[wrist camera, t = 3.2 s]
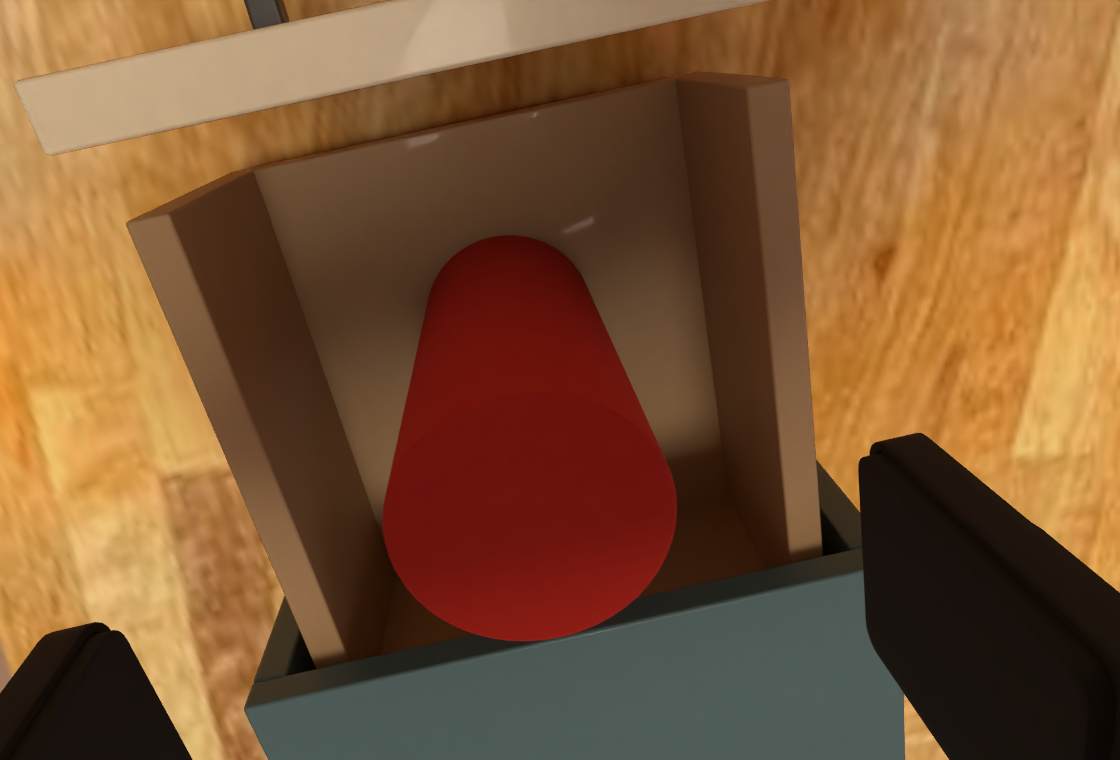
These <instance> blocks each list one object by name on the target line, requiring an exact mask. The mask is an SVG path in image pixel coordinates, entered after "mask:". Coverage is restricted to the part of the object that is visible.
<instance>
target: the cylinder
mask: <svg viewBox="0 0 1120 760" xmlns="http://www.w3.org/2000/svg"><path fill="white" fill-rule="evenodd" d="M676 518H677V499H676V490H675V486H674V481H673V477H672V474H671V472H670V469H669V467H668V464H667V462H666V460H665V457H664V455H663V453H662V451H661V449H660V446H659V444H658V442H657V440H656V437H655V435H654V433H653V431H652V429H651V426H650V424H649V422H648V420H647V418H646V415H645V413H644V411H643V409H642V407H641V404H640V402H639V400H638V398H637V396H636V393H635V391H634V389H633V387H632V385H631V382H630V380H629V378H628V376H627V374H626V371H625V369H624V367H623V365H622V362H621V360H620V358H619V356H618V354H617V351H616V349H615V347H614V345H613V343H612V340H611V338H610V336H609V334H608V332H607V329H606V327H605V325H604V323H603V321H602V318H601V316H600V314H599V312H598V310H597V307H596V305H595V303H594V301H593V299H592V296H591V294H590V292H589V290H588V287H587V285H586V283H585V281H584V279H583V277H582V276H581V274H580V272H579V271H578V269H577V268H576V267H575V265H574V264H573V263H572V262H571V261H570V260H569V259H568V258H567V257H566V256H565V255H564V254H562V253H561V252H560V251H558V250H557V249H556V248H554V247H552V246H550V245H548V244H547V243H544V242H542V241H539V240H536V239H533V238H529V237H525V236H516V235H502V236H496V237H490V238H486V239H483V240H480V241H477V242H475V243H473V244H471V245H469V246H467V247H465V248H464V249H462V250H461V251H459V252H458V253H457V254H455V255H454V256H453V257H452V258H451V259H450V260H449V261H448V262H447V263H446V264H445V265H444V266H443V268H442V269H441V271H440V272H439V273H438V275H437V277H436V279H435V281H434V283H433V285H432V288H431V290H430V293H429V297H428V302H427V306H426V311H425V316H424V320H423V325H422V329H421V334H420V339H419V343H418V348H417V352H416V357H415V362H414V366H413V371H412V375H411V380H410V385H409V389H408V394H407V398H406V403H405V408H404V412H403V417H402V421H401V426H400V431H399V435H398V440H397V444H396V449H395V454H394V458H393V463H392V467H391V472H390V477H389V481H388V486H387V490H386V495H385V500H384V505H383V520H382V524H383V533H384V541H385V544H386V548H387V552H388V556H389V558H390V560H391V562H392V565H393V567H394V569H395V571H396V573H397V574H398V576H399V578H400V579H401V581H402V582H403V584H404V586H405V587H406V588H407V589H408V590H409V592H410V593H411V594H412V595H413V596H414V598H415V599H416V600H417V601H419V602H420V603H421V604H422V605H423V606H424V607H425V608H426V609H427V610H429V611H430V612H432V613H433V614H435V615H436V616H437V617H439V618H440V619H442V620H444V621H446V622H447V623H449V624H451V625H453V626H455V627H457V628H460V629H462V630H465V631H467V632H470V633H473V634H476V635H480V636H484V637H488V638H493V639H500V640H507V641H539V640H547V639H553V638H559V637H563V636H567V635H571V634H574V633H578V632H580V631H583V630H586V629H588V628H591V627H593V626H595V625H597V624H599V623H601V622H603V621H605V620H607V619H609V618H611V617H612V616H613V615H615V614H616V613H618V612H619V611H621V610H622V609H624V608H625V607H626V606H628V605H629V604H630V603H631V602H632V601H633V600H635V599H636V598H637V597H638V596H639V595H640V594H641V593H642V592H643V591H644V589H645V588H646V587H647V586H648V585H649V584H650V582H651V581H652V580H653V578H654V577H655V576H656V574H657V573H658V571H659V569H660V568H661V566H662V564H663V562H664V560H665V558H666V556H667V554H668V551H669V548H670V546H671V543H672V540H673V536H674V531H675V527H676Z"/></svg>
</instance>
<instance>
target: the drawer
mask: <svg viewBox="0 0 1120 760" xmlns="http://www.w3.org/2000/svg"><path fill="white" fill-rule="evenodd" d="M765 1H770V0H389V1H384V2H379V3H375V4H370V5H365V6H361V7H356V8H352V9H347V10H342V11H338V12H333V13H328V14H324V15H319V16H314V17H310V18H305V19H300V20H296V21H291V22H290V21H289V18H288V14H287V11H286V8H285V5H284V1H283V0H244V2H245V5H246V8H247V11H248V14H249V17H250V20H251V24H252V27H253V30H249V31H245V32H240V33H236V34H231V35H226V36H222V37H217V38H212V39H208V40H203V41H198V42H194V43H189V44H184V45H180V46H175V47H171V48H166V49H161V50H157V51H152V52H147V53H143V54H138V55H133V56H129V57H124V58H120V59H115V60H110V61H106V62H101V63H96V64H92V65H87V66H82V67H78V68H73V69H68V70H64V71H59V72H55V73H50V74H45V75H41V76H36V77H31V78H27V79H22V80H18V81H17V82H15V83H14V86H15V89H16V91H17V93H18V95H19V98H20V100H21V102H22V104H23V106H24V109H25V111H26V113H27V115H28V117H29V120H30V122H31V124H32V126H33V128H34V131H35V133H36V135H37V137H38V139H39V142H40V144H41V146H42V148H43V150H44V152H45V153H46V155H50V156H54V155H58V154H63V153H67V152H72V151H77V150H81V149H86V148H91V147H95V146H100V145H104V144H109V143H114V142H118V141H123V140H127V139H132V138H137V137H141V136H146V135H151V134H155V133H160V132H164V131H169V130H174V129H178V128H183V127H188V126H192V125H197V124H201V123H206V122H211V121H215V120H220V119H224V118H229V117H234V116H238V115H243V114H248V113H252V112H257V111H261V110H266V109H271V108H275V107H280V106H285V105H289V104H294V103H298V102H303V101H308V100H312V99H317V98H322V97H326V96H331V95H335V94H340V93H345V92H349V91H354V90H358V89H363V88H368V87H372V86H377V85H382V84H386V83H391V82H395V81H400V80H405V79H409V78H414V77H419V76H423V75H428V74H432V73H437V72H442V71H446V70H451V69H456V68H460V67H465V66H469V65H474V64H479V63H483V62H488V61H492V60H497V59H502V58H506V57H511V56H516V55H520V54H525V53H529V52H534V51H539V50H543V49H548V48H553V47H557V46H562V45H566V44H571V43H576V42H580V41H585V40H589V39H594V38H599V37H603V36H608V35H613V34H617V33H622V32H626V31H631V30H636V29H640V28H645V27H650V26H654V25H659V24H663V23H668V22H673V21H677V20H682V19H687V18H691V17H696V16H700V15H705V14H710V13H714V12H719V11H723V10H728V9H733V8H737V7H742V6H747V5H751V4H756V3H760V2H765ZM126 226H127V228H128V230H129V233H130V235H131V237H132V240H133V242H134V244H135V247H136V249H137V251H138V254H139V256H140V258H141V261H142V263H143V265H144V268H145V270H146V272H147V275H148V277H149V279H150V282H151V284H152V286H153V289H154V291H155V293H156V296H157V298H158V300H159V303H160V305H161V307H162V310H163V312H164V314H165V317H166V319H167V321H168V324H169V326H170V328H171V331H172V333H173V335H174V338H175V340H176V342H177V345H178V347H179V349H180V352H181V354H182V356H183V359H184V361H185V363H186V366H187V368H188V370H189V373H190V375H191V377H192V380H193V382H194V384H195V387H196V389H197V391H198V394H199V396H200V398H201V401H202V403H203V405H204V408H205V410H206V412H207V415H208V417H209V419H210V422H211V424H212V426H213V429H214V431H215V433H216V436H217V438H218V440H219V443H220V445H221V447H222V450H223V452H224V454H225V457H226V459H227V461H228V464H229V466H230V468H231V471H232V473H233V475H234V478H235V480H236V482H237V485H238V487H239V489H240V492H241V494H242V496H243V499H244V501H245V503H246V506H247V508H248V510H249V513H250V515H251V517H252V520H253V522H254V524H255V527H256V529H257V531H258V534H259V536H260V538H261V541H262V543H263V545H264V548H265V550H266V552H267V555H268V557H269V559H270V562H271V564H272V566H273V569H274V571H275V573H276V576H277V578H278V580H279V583H280V585H281V587H282V590H283V592H284V594H285V597H286V599H287V601H288V604H289V606H290V608H291V611H292V613H293V615H294V618H295V620H296V622H297V625H298V627H299V629H300V632H301V634H302V636H303V639H304V641H305V643H306V646H307V648H308V650H309V653H310V655H311V657H312V660H313V662H314V664H315V667H316V669H320V668H324V667H329V666H333V665H338V664H342V663H347V662H351V661H356V660H360V659H365V658H369V657H374V656H378V655H383V654H387V653H392V652H396V651H401V650H405V649H410V648H414V647H419V646H423V645H428V644H432V643H437V642H441V641H445V640H450V639H454V638H459V637H463V636H468V635H472V634H473V633H470V632H467V631H465V630H462V629H460V628H457V627H455V626H453V625H451V624H449V623H447V622H446V621H444V620H442V619H440V618H439V617H437V616H436V615H435V614H433V613H432V612H430V611H429V610H427V609H426V608H425V607H424V606H423V605H422V604H421V603H420V602H419V601H417V600H416V599H415V598H414V596H413V595H412V594H411V593H410V592H409V590H408V589H407V588H406V587H405V586H404V584H403V582H402V581H401V579H400V578H399V576H398V574H397V573H396V571H395V569H394V567H393V565H392V562H391V560H390V558H389V556H388V552H387V548H386V544H385V541H384V533H383V524H382V520H383V505H384V500H385V495H386V490H387V486H388V481H389V477H390V472H391V467H392V463H393V458H394V454H395V449H396V444H397V440H398V435H399V431H400V426H401V421H402V417H403V412H404V408H405V403H406V398H407V394H408V389H409V385H410V380H411V375H412V371H413V366H414V362H415V357H416V352H417V348H418V343H419V339H420V334H421V329H422V325H423V320H424V316H425V311H426V306H427V302H428V297H429V293H430V290H431V288H432V285H433V283H434V281H435V279H436V277H437V275H438V273H439V272H440V271H441V269H442V268H443V266H444V265H445V264H446V263H447V262H448V261H449V260H450V259H451V258H452V257H453V256H454V255H455V254H457V253H458V252H459V251H461V250H462V249H464V248H465V247H467V246H469V245H471V244H473V243H475V242H477V241H480V240H483V239H486V238H490V237H496V236H502V235H516V236H525V237H529V238H533V239H536V240H539V241H542V242H544V243H547V244H548V245H550V246H552V247H554V248H556V249H557V250H558V251H560V252H561V253H562V254H564V255H565V256H566V257H567V258H568V259H569V260H570V261H571V262H572V263H573V264H574V265H575V267H576V268H577V269H578V271H579V272H580V274H581V276H582V277H583V279H584V281H585V283H586V285H587V287H588V290H589V292H590V294H591V296H592V299H593V301H594V303H595V305H596V307H597V310H598V312H599V314H600V316H601V318H602V321H603V323H604V325H605V327H606V329H607V332H608V334H609V336H610V338H611V340H612V343H613V345H614V347H615V349H616V351H617V354H618V356H619V358H620V360H621V362H622V365H623V367H624V369H625V371H626V374H627V376H628V378H629V380H630V382H631V385H632V387H633V389H634V391H635V393H636V396H637V398H638V400H639V402H640V404H641V407H642V409H643V411H644V413H645V415H646V418H647V420H648V422H649V424H650V426H651V429H652V431H653V433H654V435H655V437H656V440H657V442H658V444H659V446H660V449H661V451H662V453H663V455H664V457H665V460H666V462H667V464H668V467H669V469H670V472H671V474H672V477H673V481H674V486H675V490H676V499H677V518H676V527H675V531H674V536H673V540H672V543H671V546H670V548H669V551H668V554H667V556H666V558H665V560H664V562H663V564H662V566H661V568H660V569H659V571H658V573H657V574H656V576H655V577H654V578H653V580H652V581H651V582H650V584H649V585H648V586H647V587H646V588H645V589H644V591H643V592H642V593H641V594H640V595H639V596H638V597H643V596H647V595H652V594H656V593H661V592H665V591H670V590H674V589H679V588H683V587H688V586H692V585H697V584H701V583H706V582H710V581H715V580H719V579H724V578H728V577H733V576H737V575H742V574H746V573H751V572H755V571H760V570H764V569H769V568H773V567H778V566H782V565H787V564H791V563H796V562H800V561H805V560H809V559H814V558H818V557H822V556H823V549H822V535H821V521H820V507H819V493H818V479H817V466H816V452H815V438H814V424H813V410H812V396H811V382H810V368H809V354H808V340H807V326H806V312H805V298H804V284H803V270H802V256H801V242H800V229H799V215H798V201H797V187H796V173H795V159H794V145H793V131H792V117H791V103H790V89H789V81H788V79H785V78H773V77H761V76H749V75H736V74H724V73H712V72H699V71H695V72H690V73H686V74H681V75H677V76H672V77H667V78H663V79H658V80H653V81H649V82H644V83H640V84H635V85H630V86H626V87H621V88H617V89H612V90H607V91H603V92H598V93H594V94H589V95H584V96H580V97H575V98H571V99H566V100H561V101H557V102H552V103H548V104H543V105H538V106H534V107H529V108H524V109H520V110H515V111H511V112H506V113H501V114H497V115H492V116H488V117H483V118H478V119H474V120H469V121H465V122H460V123H455V124H451V125H446V126H442V127H437V128H432V129H428V130H423V131H419V132H414V133H409V134H405V135H400V136H395V137H391V138H386V139H382V140H377V141H372V142H368V143H363V144H359V145H354V146H349V147H345V148H340V149H336V150H331V151H326V152H322V153H317V154H313V155H308V156H303V157H299V158H294V159H290V160H285V161H280V162H276V163H271V164H266V165H262V166H257V167H253V168H248V169H243V170H239V171H234V172H231V173H229V174H227V175H225V176H223V177H221V178H218V179H216V180H214V181H212V182H210V183H208V184H206V185H204V186H202V187H199V188H197V189H195V190H193V191H191V192H189V193H187V194H185V195H183V196H180V197H178V198H176V199H174V200H172V201H170V202H168V203H166V204H164V205H162V206H159V207H157V208H155V209H153V210H151V211H149V212H147V213H145V214H143V215H140V216H138V217H136V218H134V219H132V220H130V221H128V222H127V223H126ZM638 597H637V598H638Z"/></svg>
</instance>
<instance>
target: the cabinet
mask: <svg viewBox="0 0 1120 760" xmlns="http://www.w3.org/2000/svg"><path fill="white" fill-rule="evenodd" d="M816 466H817V479H818V493H819V507H820V521H821V535H822V549H823V556H822V557H818V558H814V559H809V560H805V561H800V562H796V563H791V564H787V565H782V566H778V567H773V568H769V569H764V570H760V571H755V572H751V573H746V574H742V575H737V576H733V577H728V578H724V579H719V580H715V581H710V582H706V583H701V584H697V585H692V586H688V587H683V588H679V589H674V590H670V591H665V592H661V593H656V594H652V595H647V596H643V597H638V598H636V599H635V600H633V601H632V602H631V603H630V604H629V605H628V606H626V607H625V608H624V609H622V610H621V611H619V612H618V613H616V614H615V615H613V616H612V617H611V618H609V619H607V620H605V621H603V622H601V623H599V624H597V625H595V626H593V627H591V628H588V629H586V630H583V631H580V632H578V633H574V634H571V635H567V636H563V637H559V638H553V639H547V640H539V641H507V640H500V639H493V638H488V637H484V636H480V635H476V634H472V635H468V636H463V637H459V638H454V639H450V640H445V641H441V642H437V643H432V644H428V645H423V646H419V647H414V648H410V649H405V650H401V651H396V652H392V653H387V654H383V655H378V656H374V657H369V658H365V659H360V660H356V661H351V662H347V663H342V664H338V665H333V666H329V667H324V668H320V669H316V667H315V664H314V662H313V660H312V657H311V655H310V653H309V650H308V648H307V646H306V643H305V641H304V639H303V636H302V634H301V632H300V629H299V627H298V625H297V622H296V620H295V618H294V615H293V613H292V611H291V608H290V606H289V604H288V601H287V599H286V597H285V596H284V599H283V602H282V605H281V607H280V610H279V613H278V616H277V618H276V621H275V624H274V627H273V629H272V632H271V635H270V638H269V640H268V643H267V646H266V649H265V651H264V654H263V657H262V660H261V662H260V665H259V668H258V671H257V673H256V676H255V679H254V684H253V685H252V688H251V690H250V693H249V696H248V699H247V701H246V704H245V707H244V711H245V713H246V715H247V717H248V719H249V722H250V724H251V726H252V728H253V730H254V732H255V734H256V736H257V738H258V740H259V742H260V744H261V746H262V748H263V750H264V752H265V754H266V756H267V758H268V760H905V735H904V693H903V691H902V690H901V688H900V687H899V685H898V684H897V682H896V681H895V680H894V678H893V677H892V675H891V674H890V672H889V671H888V669H887V668H886V666H885V665H884V663H883V662H882V661H881V659H880V658H879V656H878V655H877V653H876V651H875V650H874V648H873V645H872V643H871V641H870V638H869V635H868V631H867V627H866V616H865V595H864V574H863V554H862V533H861V513H860V512H859V511H858V510H857V508H856V507H855V506H854V505H853V503H852V502H851V501H850V500H849V499H848V497H847V496H846V495H845V494H844V493H843V491H842V490H841V489H840V488H839V487H838V485H837V484H836V483H835V482H834V480H833V479H832V478H831V477H830V476H829V474H828V473H827V472H826V471H825V470H824V468H823V467H822V466H821V465H820V463H819V462H818V461H817V460H816Z"/></svg>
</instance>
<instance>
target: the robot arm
mask: <svg viewBox="0 0 1120 760" xmlns="http://www.w3.org/2000/svg"><path fill="white" fill-rule="evenodd" d="M858 471H859V492H860V513H861V533H862V554H863V574H864V595H865V616H866V627H867V631H868V635H869V638H870V641H871V643H872V645H873V648H874V650H875V651H876V653H877V655H878V656H879V658H880V659H881V661H882V662H883V663H884V665H885V666H886V668H887V669H888V671H889V672H890V674H891V675H892V677H893V678H894V680H895V681H896V682H897V684H898V685H899V687H900V688H901V690H902V691H903V693H904V694H905V696H906V697H907V698H908V700H909V701H910V703H911V704H912V706H913V707H914V709H915V710H916V712H917V713H918V715H919V716H920V717H921V719H922V720H923V722H924V723H925V725H926V726H927V728H928V729H929V731H930V732H931V734H932V735H933V736H934V738H935V739H936V741H937V742H938V744H939V745H940V747H941V748H942V750H943V751H944V753H945V754H946V755H947V757H948V758H949V760H1120V593H1119V592H1118V591H1117V590H1115V589H1114V588H1113V587H1112V586H1110V585H1109V584H1108V583H1107V582H1106V581H1104V580H1103V579H1102V578H1101V577H1100V576H1098V575H1097V574H1096V573H1095V572H1093V571H1092V570H1091V569H1090V568H1089V567H1087V566H1086V565H1085V564H1084V563H1082V562H1081V561H1080V560H1079V559H1078V558H1076V557H1075V556H1074V555H1073V554H1072V553H1070V552H1069V551H1068V550H1067V549H1065V548H1064V547H1063V546H1062V545H1061V544H1059V543H1058V542H1057V541H1056V540H1054V539H1053V538H1052V537H1051V536H1050V535H1048V534H1047V533H1046V532H1045V531H1044V530H1042V529H1041V528H1039V527H1038V526H1036V525H1035V524H1033V523H1031V522H1030V521H1029V520H1028V519H1026V518H1025V517H1024V516H1023V515H1022V514H1020V513H1019V512H1018V511H1017V510H1016V509H1014V508H1013V507H1012V506H1011V505H1010V504H1008V503H1007V502H1006V501H1005V500H1003V499H1002V498H1001V497H1000V496H999V495H997V494H996V493H995V492H994V491H993V490H991V489H990V488H989V487H988V486H986V485H985V484H984V483H983V482H982V481H980V480H979V479H978V478H977V477H976V476H974V475H973V474H972V473H971V472H970V471H968V470H967V469H966V468H965V467H963V466H962V465H961V464H960V463H959V462H957V461H956V460H955V459H954V458H953V457H951V456H950V455H949V454H948V453H946V452H945V451H944V450H943V449H942V448H940V447H939V446H938V445H937V444H936V443H934V442H933V441H932V440H931V439H930V438H928V437H927V436H925V435H924V434H922V433H914V434H910V435H906V436H901V437H897V438H893V439H888V440H884V441H880V442H875V443H874V444H873V445H872V447H871V450H870V456H866V457H862V458H861V459H860V461H859V468H858ZM0 760H192V758H191V756H190V754H189V752H188V751H187V749H186V747H185V745H184V743H183V741H182V740H181V738H180V736H179V734H178V732H177V730H176V729H175V727H174V725H173V723H172V721H171V719H170V718H169V716H168V714H167V712H166V710H165V708H164V707H163V705H162V703H161V701H160V699H159V697H158V696H157V694H156V692H155V690H154V688H153V686H152V685H151V683H150V681H149V679H148V677H147V675H146V674H145V672H144V670H143V668H142V666H141V664H140V663H139V661H138V659H137V657H136V655H135V653H134V652H133V650H132V648H131V646H130V644H129V642H128V641H127V639H126V637H125V636H124V635H123V634H122V633H121V632H119V631H116V630H112V631H111V630H110V629H109V627H107V626H106V625H104V624H103V623H98V622H94V623H90V624H85V625H81V626H77V627H72V628H68V629H64V630H59V631H55V632H51V633H49V634H46V635H45V636H44V637H43V638H42V639H41V640H40V641H39V642H38V643H37V644H36V646H35V647H34V649H33V650H32V651H31V653H30V654H29V655H28V657H27V658H26V659H25V661H24V662H23V663H22V665H21V666H20V667H19V669H18V670H17V671H16V673H15V674H14V676H13V677H12V678H11V680H10V681H9V682H8V684H7V685H6V686H5V688H4V689H3V690H2V692H1V693H0Z"/></svg>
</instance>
